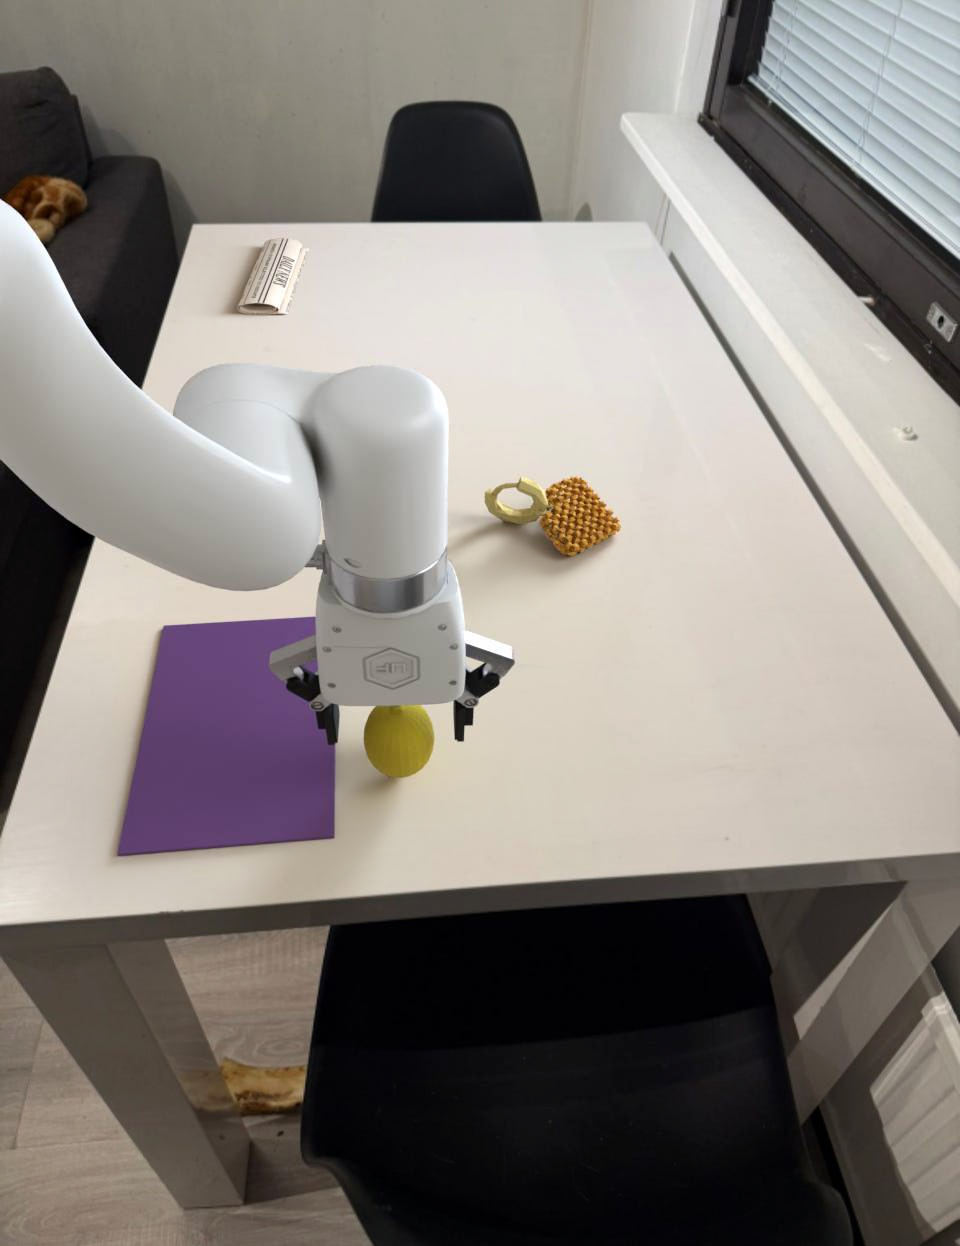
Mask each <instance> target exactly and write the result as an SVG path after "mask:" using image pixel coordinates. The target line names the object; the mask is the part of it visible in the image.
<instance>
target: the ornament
mask: <svg viewBox="0 0 960 1246" xmlns="http://www.w3.org/2000/svg"><path fill="white" fill-rule="evenodd" d="M519 477H520V478H519V479H518V482H505V483H502V484H500V485H498V486H496V487H495V488H494V489H492V488H488V489H487V490H485V491H484V504H485V506H486V508H487V510H488V512H489V513H490V514H491V515H493V516H494V517H496V518H497V519H500V520H501V521H503V522H505V523H510V524H516V525H521V526H522V525H526V524H530V523H533V522H534V523H535V522H537V521H538V522H539V524H540V528H541V530H543V532H544V534H545V535H546V537H547V538H548V539H550V540H551V541H552V544H553V545H552V546H554V548H556V549H557V551H559V552H560V553H561V554H563V556H566V555H568V556H569V557H574V556H575V555H576V554H577V553H578V552H579V553H582V552H584V550H586V549H587V550H589V549H590V548H592V547H594V545H598V544H600V543H602V541H605V540H607V539H609V537H610V536H615V535H616V532H617V533H619V532H620V530H621V528H622V525H621V524H619V522H620V521H621V519H620V518H619V517H618V516H616V517H613V514H614V511H613V510H612V509H611V508H609V509H607V508H606V507H607V503H606V502H605V501H604V500H602V501H600V499H601V496H600V495H599V494H598V493H594V491H595V490H594V489H593V488H592V487H591V486H589V485H588V481H587V480H586V479H583V478H582V477H579V476H577V475H576V476H570V478H563V479H562V480H561V481H559V482H554V483H552V484H551V485H550V486H549V487H547V488H545V490H544V489H543V488H542V487H541V486H540V485H539V484H538V482H536V481H533V480H531V479H528V478H527V477H524V476H519ZM513 488H514V489H515V488H516V490H517V491H518V492H520V493H522V494H524V495H527V496H529V497H531V498H532V502H533V503H532V504H531V505H530V507H527V508H521V509H516V508H513V507H511V506H508V505H507V504H504V503H501V502H500V500H499V499H498V495H499V494H500V493H501V492H502V491H503V490H505V489H506V490H507V489H513Z"/></svg>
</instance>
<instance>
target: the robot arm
mask: <svg viewBox="0 0 960 1246" xmlns="http://www.w3.org/2000/svg"><path fill="white" fill-rule="evenodd" d="M175 399H176V400H175V403H174V406H173V411H172V414H171V413H170V412H168V411H167V409H165V408H163V407H162V406H161V405H160V404H159V403H157V402H156V401H154V400H153V399H152V398H151V397H150V396H149V395H148V394H147V393H145V392H144V391H143V390H142V389H141V388H140V387H139V386H138V385H136V384H135V383H134V382H133V381H132V380H131V379H130V378H129V377H128V376H127V375H126V374H125V373H124V371H123V370H122V369H120V367H119V366H118V365H117V364H116V363H115V362H114V361H113V359H112V358H111V357H110V356H109V354H108V353H107V352H106V351H105V350H104V348H103V347H102V346H101V345H100V343H99V341H98V340H97V339H96V337H95V336H94V334H93V333H92V332H91V330H90V329H89V327H88V326H87V324H86V323H85V320H84V319H83V318H82V316H81V314H80V312H79V310H78V309H77V307H76V305H75V303H74V301H73V299H72V297H71V295H70V293H69V291H68V289H67V287H66V285H65V283H64V281H63V279H62V276H61V274H60V273H59V271H58V269H57V267H56V265H55V263H54V261H53V259H52V258H51V256H50V254H49V252H48V251H47V249H46V247H45V246H44V244H43V243H42V241H41V240H40V238H39V237H38V235H37V233H36V232H35V231H34V230H33V228H32V227H31V225H30V224H29V223H28V222H27V220H26V219H25V218H24V217H23V215H22V214H20V212H18V211H17V210H16V209H15V208H13V206H11V205H10V204H9V203H7V202H5V201H4V200H2V199H1V198H0V461H2V463H4V464H5V466H7V467H8V468H9V470H11V471H12V472H13V474H15V476H17V477H18V478H19V480H21V481H22V482H23V483H24V484H25V485H26V486H27V487H28V488H29V489H30V490H32V492H34V493H35V494H36V495H37V496H38V497H39V498H41V500H43V501H44V502H45V503H46V504H47V505H48V506H49V507H50V508H52V509H53V510H55V511H56V512H57V513H58V514H60V515H61V516H63V517H64V518H65V519H66V520H67V521H69V522H71V523H72V524H74V525H75V526H77V527H78V528H80V529H81V530H83V531H85V532H86V533H88V534H89V535H92V536H93V537H95V538H97V539H98V540H101V541H102V542H104V543H105V544H108V545H110V546H112V547H113V548H114V547H115V548H116V549H119V550H122V551H123V552H124V553H125V552H126V553H128V554H130V555H131V556H134V557H136V558H138V559H140V560H143V561H145V562H147V563H149V564H151V565H153V566H155V567H158V568H160V569H162V570H165V571H167V572H169V573H171V574H174V575H176V576H178V577H181V578H183V579H186V580H189V581H191V582H195V583H197V584H201V585H204V586H207V587H211V588H214V589H221V590H226V591H233V592H234V591H235V592H254V591H265V590H268V589H272V588H275V587H278V586H281V585H282V584H283V583H286V582H288V581H289V580H292V579H293V578H295V577H296V576H297V575H298V574H299V573H300V572H302V571H303V570H304V568H316V570H317V571H318V570H319V571H321V570H322V572H321V576H320V580H319V583H318V588H317V593H316V601H315V616H314V617H315V623H316V634H315V635H312V636H310V637H307V638H305V639H302V640H300V641H297V642H295V643H292V644H289V645H287V646H284V647H282V648H279V649H277V650H274V651H272V652H271V654H270V660H269V669H270V671H272V672H273V673H274V674H275V675H276V676H277V677H278V678H279V679H280V680H281V681H283V682H284V683H285V684H286V688H287V690H288V691H290V692H292V693H293V694H295V695H297V696H299V697H301V698H302V699H304V700H306V701H308V702H309V708H310V709H311V710H313V711H315V712H316V718H317V724H318V729H326V735H327V741H328V745H335V746H336V744H338V743H339V732H340V731H339V729H340V718H341V717H340V706H342V707H343V706H344V707H376V706H398V705H421V706H426V705H441V704H447V703H451V702H453V705H452V706H453V707H452V711H453V713H452V714H453V715H452V717H453V731H454V732H453V734H454V736H453V737H454V741H456V742H457V743H458V742H460V743H462V742H465V727H466V726H469V727H471V726H472V727H473V726H474V714H475V713H474V711H475V707H477V706H479V704H480V700H479V699H481V698H482V697H484V696H485V695H486V694H488V693H490V692H491V691H493V690H494V689H496V688H498V687H499V686H500V684H501V680H502V678H505V676H506V675H507V674H508V672H509V671H510V670H511V669H512V668H513V667H514V666H515V664H516V660H515V659H516V658H515V650H514V648H513V647H512V646H511V645H508V644H504V643H503V642H502V643H501V642H499V641H495V640H493V639H490V638H487V637H484V636H481V635H479V634H476V633H473V632H470V631H467V630H466V624H465V613H464V605H463V598H462V593H461V588H460V584H459V580H458V577H457V573H456V571H455V570H456V569H455V568H454V565H453V564H452V563H451V562H450V560H449V559H448V509H449V508H448V507H449V506H448V504H449V503H448V502H449V499H448V498H449V439H450V438H449V435H450V433H449V432H450V431H449V429H450V428H449V424H450V423H449V408H448V406H447V402H446V399H445V397H444V395H443V393H442V391H441V390H440V388H439V387H438V386H437V385H436V383H435V382H433V381H432V380H431V379H430V378H428V377H426V376H425V375H423V374H421V373H419V372H418V371H416V370H413V369H410V368H406V367H403V366H398V365H392V364H391V365H390V364H369V365H363V366H357V367H353V368H350V369H347V370H344V371H341V372H333V371H321V370H320V371H319V370H311V369H303V368H302V369H301V368H294V367H287V366H286V367H285V366H278V365H271V364H270V365H269V364H261V363H260V364H259V363H253V362H252V363H251V362H250V363H249V362H229V363H221V364H217V365H213V366H209V367H207V368H204V369H202V370H199V371H198V372H196V373H195V374H194V375H192V376H191V377H190V378H189V379H188V380H187V381H186V382H185V383H184V385H182V387H181V388H180V390H179V392H178V393H177V396H176V398H175ZM322 524H323V532H324V533H323V534H324V539H322V540H321V543H320V544H319V540H320V535H321V529H322ZM467 658H470V659H472V660H476V661H478V662H482V664H480V665H479V666H477V667H476V668H475V669H473V668H472V667H470V666H469V665H468V664H467ZM315 660H317V662H318V671H317V672H316V673H315V674H314V673H312V672H311V671H309V670H307V669H305V668H304V667H302V665H304V664H307V663H310V662H312V661H315Z"/></svg>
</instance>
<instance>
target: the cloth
mask: <svg viewBox="0 0 960 1246" xmlns="http://www.w3.org/2000/svg"><path fill="white" fill-rule="evenodd" d="M315 617H316V616H302V617H285V618H269V619H268V618H267V619H254V620H253V619H250V620H234V621H217V622H216V621H215V622H203V623H202V622H201V623H199V622H197V623H184V624H182V623H181V624H168V625H163V626H162V632H161V637H160V641H159V646H158V651H157V657H156V662H155V666H154V672H153V676H152V681H151V686H150V691H149V695H148V696H149V697H148V701H147V706H146V709H145V710H146V711H145V716H144V721H143V726H142V730H141V736H140V740H139V745H138V750H137V756H136V760H135V765H134V769H133V775H132V780H131V786H130V790H129V795H128V800H127V804H126V809H125V814H124V819H123V824H122V829H121V834H120V839H119V844H118V849H117V856H118V857H127V856H136V855H148V854H159V853H171V852H173V853H174V852H184V851H192V850H193V851H195V850H207V849H209V850H210V849H219V848H221V849H222V848H230V847H231V848H233V847H242V846H255V845H269V844H278V843H279V844H280V843H291V842H303V841H315V840H327V839H334V838H335V827H336V826H335V824H336V823H335V822H336V821H335V819H336V816H335V815H336V814H335V812H336V811H335V810H336V809H335V808H336V805H335V804H336V799H335V798H336V796H335V795H336V793H335V792H336V744H335V745H328V741H327V735H326V729H318V724H317V718H316V712H315V711H313V710H311V709H310V708H309V702H308V701H306V700H304V699H302V698H301V697H299V696H297V695H295V694H293V693H292V692H290V691H288V690H287V688H286V684H285V683H284V682H283V681H281V680H280V679H279V678H278V677H277V676H276V675H275V674H274V673H273V672H272V671H270V669H269V660H270V654H271V652H272V651H274V650H277V649H279V648H282V647H284V646H287V645H289V644H292V643H295V642H297V641H300V640H302V639H305V638H307V637H310V636H312V635H315V634H316V623H315ZM302 667H304V668H305V669H307V670H309V671H311V672H312V673H314V674H315V673H316V672H317V671H318V662H317V660H315V661H312V662H310V663H307V664H304V665H302Z"/></svg>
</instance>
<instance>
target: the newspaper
mask: <svg viewBox="0 0 960 1246" xmlns="http://www.w3.org/2000/svg"><path fill="white" fill-rule="evenodd" d="M302 243H303V242H301V241H299V240H297V239H294V238H286V237H278V238H270V239H268V240H265V241H264V243H263V246H262V248H261V250H260V253H259V255H258V257H257V260H256V262H255V264H254V267H253V269H252V271H251V273H250V276H249V278H248V281H247V283H246V286H245V288H244V290H243V292H242V295H241V297H240V299H239V302H238V303H237V307H236V308H237V311H238V312H240V313H241V314H246V315H264V316H265V315H267V316H268V315H278V314H280V315H282V314H283V315H288V313H289V310H290V306H291V304H292V301H293V299H294V295H295V292H296V288H297V286H298V283H299V280H300V277H301V275H302V271H303V268H304V265H305V263H306V259H307V255H308V253H309V250H310V248H308V247H303V245H302Z"/></svg>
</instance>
